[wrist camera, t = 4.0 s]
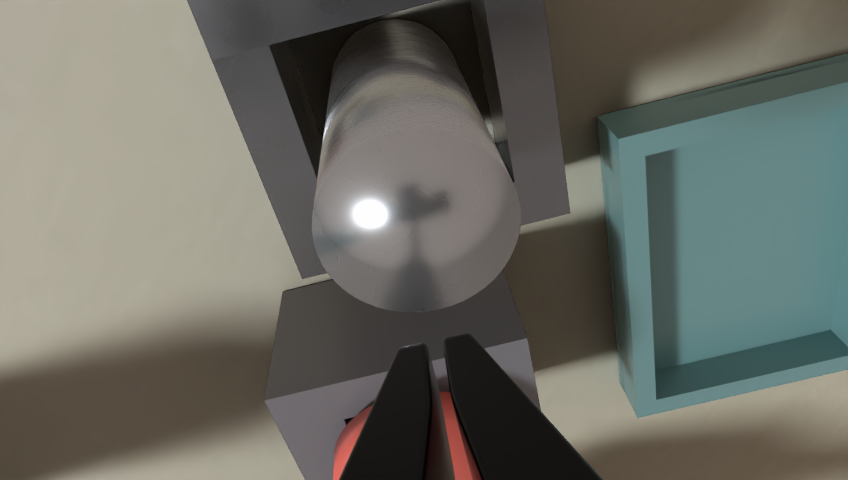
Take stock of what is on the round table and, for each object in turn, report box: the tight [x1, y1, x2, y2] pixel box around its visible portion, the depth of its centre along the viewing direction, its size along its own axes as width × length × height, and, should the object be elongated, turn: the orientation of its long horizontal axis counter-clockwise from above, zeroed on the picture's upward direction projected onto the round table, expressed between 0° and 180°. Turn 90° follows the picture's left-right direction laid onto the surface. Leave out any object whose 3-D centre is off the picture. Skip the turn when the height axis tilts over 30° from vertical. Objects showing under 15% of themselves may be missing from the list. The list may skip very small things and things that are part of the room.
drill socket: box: [187, 0, 570, 279], centre depth 18 cm, size 8×8×3 cm
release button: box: [333, 391, 472, 480], centre depth 21 cm, size 6×6×4 cm
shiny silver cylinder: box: [312, 19, 521, 312], centre depth 16 cm, size 4×4×9 cm
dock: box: [264, 270, 541, 480], centre depth 23 cm, size 7×8×6 cm
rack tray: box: [597, 53, 848, 418], centre depth 23 cm, size 13×10×2 cm
